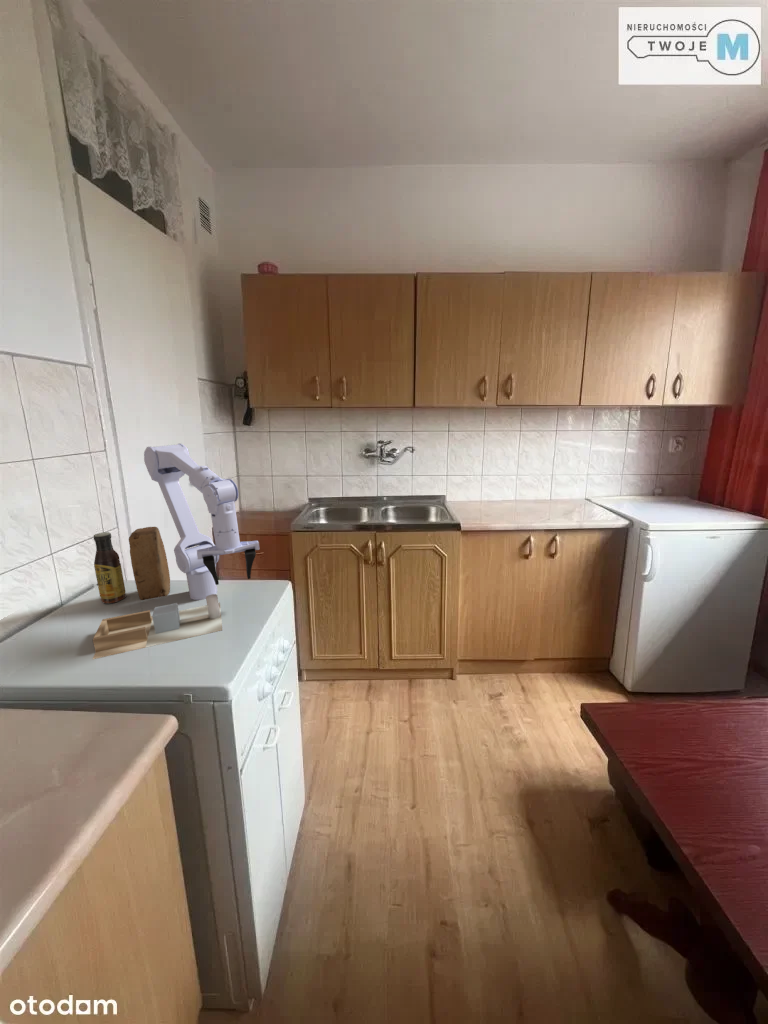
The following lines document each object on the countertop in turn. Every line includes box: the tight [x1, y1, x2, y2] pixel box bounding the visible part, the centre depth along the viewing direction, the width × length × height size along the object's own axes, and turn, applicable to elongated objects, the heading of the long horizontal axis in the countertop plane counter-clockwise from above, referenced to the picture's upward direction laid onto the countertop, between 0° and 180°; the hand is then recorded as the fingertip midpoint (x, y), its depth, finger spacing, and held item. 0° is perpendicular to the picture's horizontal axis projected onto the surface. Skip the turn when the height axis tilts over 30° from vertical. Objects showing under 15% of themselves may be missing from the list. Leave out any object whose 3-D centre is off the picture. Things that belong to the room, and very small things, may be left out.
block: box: [128, 526, 171, 601], centre depth 121 cm, size 11×8×20 cm
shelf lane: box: [92, 602, 223, 660], centre depth 101 cm, size 16×26×4 cm, turn 113°
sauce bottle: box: [93, 531, 127, 604], centre depth 119 cm, size 6×6×20 cm
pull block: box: [151, 594, 220, 634], centre depth 103 cm, size 5×14×6 cm, turn 112°
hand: (233, 580), depth 107 cm, fingers open, 7 cm apart
